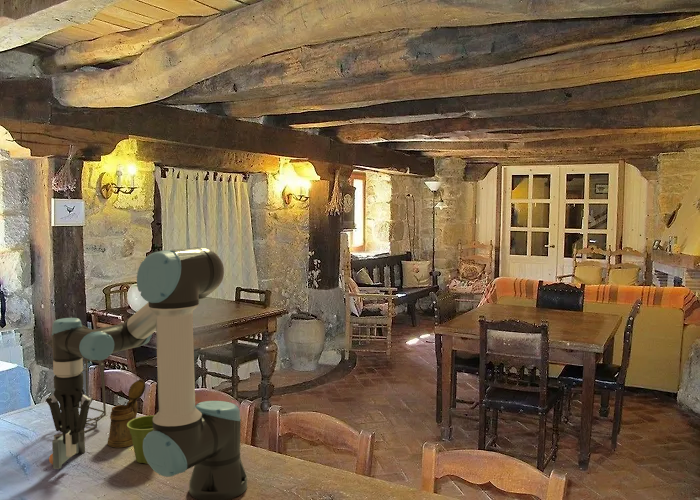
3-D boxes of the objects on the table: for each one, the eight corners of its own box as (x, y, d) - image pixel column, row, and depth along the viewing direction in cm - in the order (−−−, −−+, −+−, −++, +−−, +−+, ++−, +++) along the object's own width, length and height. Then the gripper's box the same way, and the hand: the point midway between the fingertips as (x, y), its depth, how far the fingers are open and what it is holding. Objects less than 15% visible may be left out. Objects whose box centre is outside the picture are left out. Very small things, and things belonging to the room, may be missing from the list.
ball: (65, 461, 176) (60, 450, 176) (53, 468, 174) (48, 457, 174) (63, 459, 179) (58, 449, 179) (51, 466, 177) (45, 455, 177)
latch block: (65, 454, 183) (64, 435, 182) (56, 456, 182) (55, 437, 181) (63, 452, 185) (62, 433, 184) (54, 454, 183) (54, 435, 183)
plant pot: (178, 456, 182) (177, 420, 181) (145, 471, 173) (144, 432, 172) (152, 447, 189) (151, 412, 188) (119, 461, 179) (118, 423, 178)
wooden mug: (154, 434, 199) (153, 380, 197) (122, 450, 187) (121, 392, 185) (133, 429, 203) (132, 376, 201) (101, 444, 191) (99, 388, 189)
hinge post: (86, 452, 184) (85, 420, 184) (75, 455, 182) (74, 423, 182) (83, 449, 187) (82, 417, 186) (72, 452, 185) (71, 419, 184)
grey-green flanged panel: (72, 452, 182) (71, 426, 182) (78, 452, 182) (77, 426, 182) (53, 468, 172) (52, 441, 171) (59, 468, 171) (58, 441, 171)
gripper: (97, 370, 175) (99, 450, 177) (54, 368, 176) (57, 448, 178) (83, 378, 167) (85, 461, 169) (38, 376, 169) (41, 459, 171)
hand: (71, 454), depth 174 cm, fingers closed
